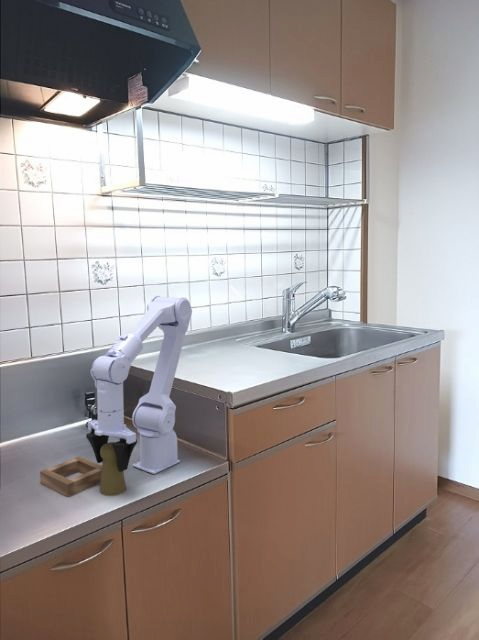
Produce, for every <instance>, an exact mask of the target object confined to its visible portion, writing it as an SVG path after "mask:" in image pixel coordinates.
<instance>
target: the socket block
mask: <svg viewBox="0 0 479 640" xmlns="http://www.w3.org/2000/svg"><path fill="white" fill-rule="evenodd" d="M77 473H80V475H78V476H75V477H73V478H71V479H69V478H67V477H69V476H71V475H74V474H77ZM101 473H102V464H100V463H97V462H95V461H92V460H89V459H87V458H84V457H82V456H77V457H75V458H72V459H70V460H67V461H63V462H61V463H58V464H55V465H54V466H53V465H52V466H51V467H48V468H44V469H43V470H40V471H39V476H40V477H39V479H40V481H39V482H40V484H41V485H43V486H45V487H47V488H49V489H51V490H53V491H55V492H57V493H59V494H61V495H63V496H65V497H67V498H69V497H71V496H74V495H76V494H79V493H81V492H83V491H86V490H87V489H90V488H92V487H94V486H97V485H98V484H99V485H100V482H101Z"/></svg>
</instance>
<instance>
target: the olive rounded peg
mask: <svg viewBox="0 0 479 640" xmlns="http://www.w3.org/2000/svg"><path fill="white" fill-rule="evenodd" d="M115 442H116V441H110V442H108V443H106V444H104V445H103V446H102V447H101V450H100V455H101V457H102V459H103V462H101V463H102V464H101V465H102V473H101V482H100V483H99V493H100V494H101V496H102V495H103V496H107V497H108V496H111V497H112V496H117V495H121V494H122V493H125V492H126V490H127V484H126V479H125V472H124V471H125V470H124V471H122V472H119V471H118V467H117V458H116V453H115V450H114V448H113V446H112V443H115Z"/></svg>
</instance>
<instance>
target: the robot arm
mask: <svg viewBox="0 0 479 640" xmlns="http://www.w3.org/2000/svg"><path fill="white" fill-rule="evenodd" d="M192 314H193V308H192V306H191V302H190V301H189V300H188V298H186V297H175V296H174V297H173V296H170V297H169V296H160V295H155V296H153V297H152V298H151V299H150V300H149V301H148V303H147V304H146V312H145V313H144V315H143V316H142V317H141V318H140V320H139V321H138V323H137V324H136V326H135V327H134V328H133V330H132V331H131V332H126V333H122V334H121V335H120V336H119V339H118V340H117V341H116V342H115V343H114V344H113V346H112V347H111V348H110V349H108V351H107V352H106V354H105V355H101V356H98V357H97V358H96V359H95V360H94V361H93V363H92V366H91V369H90V375H91V378H92V379H93V380H94V387H95V388H96V397H97V400H96V401H97V406H96V407H97V419H92V420H90V421H87V430H88V431H90V432H89V433H86V435H85V437H86V439H87V440H88V442H89V444H90V446H91V448H92V451H93V453H94V456H95V457H94V458H95V460H96V463H97V464H101V463H103V459H102V457H101V455H100V450H101V447H102V446H103V445H104V444H106V443H109V438H110V437H114V439H115V438H116V439H119V440H118V441H114V442H115V443H112V446H113V448H114V450H115V453H116V458H117V467H118V471H119V472H122V471H126V470H128V468H129V463H130V459H131V456H132V453H133V451H134V449H135V447H136V445H137V443H138V439H137V433H139V461H137V462H135V463H133V464H132V466H133V467H134V468H136V469H140V470H142V471H144V472H146V473H147V472H148V473H150V474H152V475H155V474H158V473H160V472H162V471H164V470H166V469H169V468H170V467H173V466H174V465H176V464H178V463H180V462H181V461H180V459H178V437H177V434H176V432H175V430H174V426H175V423H176V409H177V406H176V404H175V403H174V402H173V401H172V399H171V397H170V395H171V392H172V388H173V384H174V380H175V376H176V374H177V373H176V372H177V368H178V364H179V360H180V357H181V353H182V350H183V345H184V341H185V337H186V333H187V332H188V329H189V326H190V322H191V317H192ZM157 328H159V329H160V330H161V331H162V332H163V339H162V343H161V345H160V350H159V353H158V354H159V355H158V358H157V361H156V364H155V369H154V373H153V376H152V380H151V384H150V387H149V391H148V392H147V393H146V394H144V395H143V396H141V397H140V398H139V399H138V403H137V405H136V407H135V408H134V410H133V413H132V415H131V418H132V420H131V421H132V425H133V426H134V428H135V429H137V433H136V432H133V431H132V430H130V429H129V428H128V427H127V426H126V425H125V418H124V417H125V414H124V413H125V412H124V409H125V406H124V381H125V380H127V378H128V376H129V373H130V370H131V369H130V368H132V367H131V366H132V363H133V362H134V361H135V359H136V358H137V357H138V356H139V354H140V353H141V352H142V351H143V350H144V343H143V342H144V341H145V340H146V339H147V338H148V337H149V336H150V335H151V334H152V333H153V332H154V331H155V330H156V329H157Z"/></svg>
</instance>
